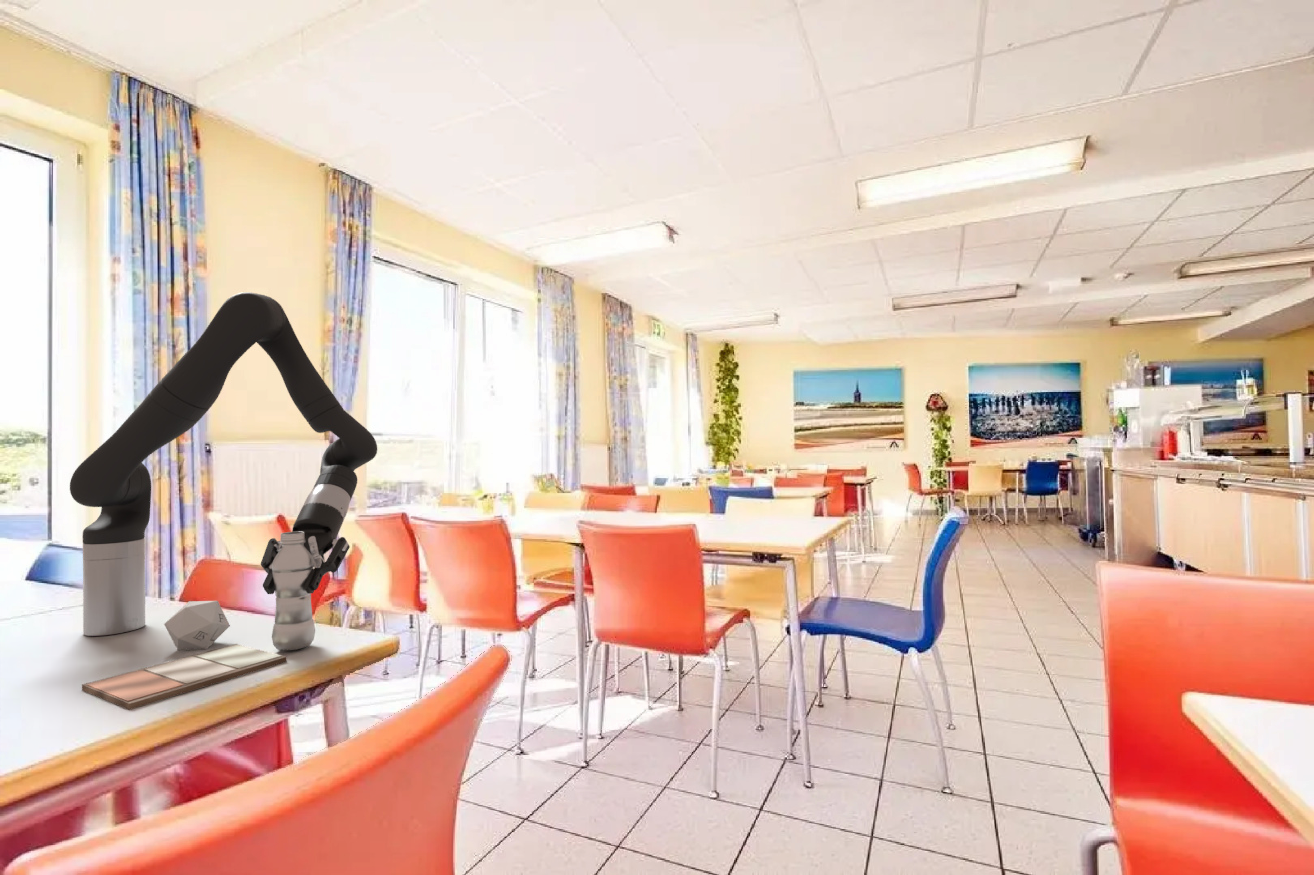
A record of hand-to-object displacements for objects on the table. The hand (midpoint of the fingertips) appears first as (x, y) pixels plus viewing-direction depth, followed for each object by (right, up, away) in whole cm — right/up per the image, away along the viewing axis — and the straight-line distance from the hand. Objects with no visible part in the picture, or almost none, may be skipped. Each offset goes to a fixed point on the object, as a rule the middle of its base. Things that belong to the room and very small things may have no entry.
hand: (288, 591), depth 109 cm
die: (-18, -11, +4) cm, 22 cm away
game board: (-9, -10, -10) cm, 17 cm away
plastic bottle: (0, -11, +2) cm, 11 cm away
